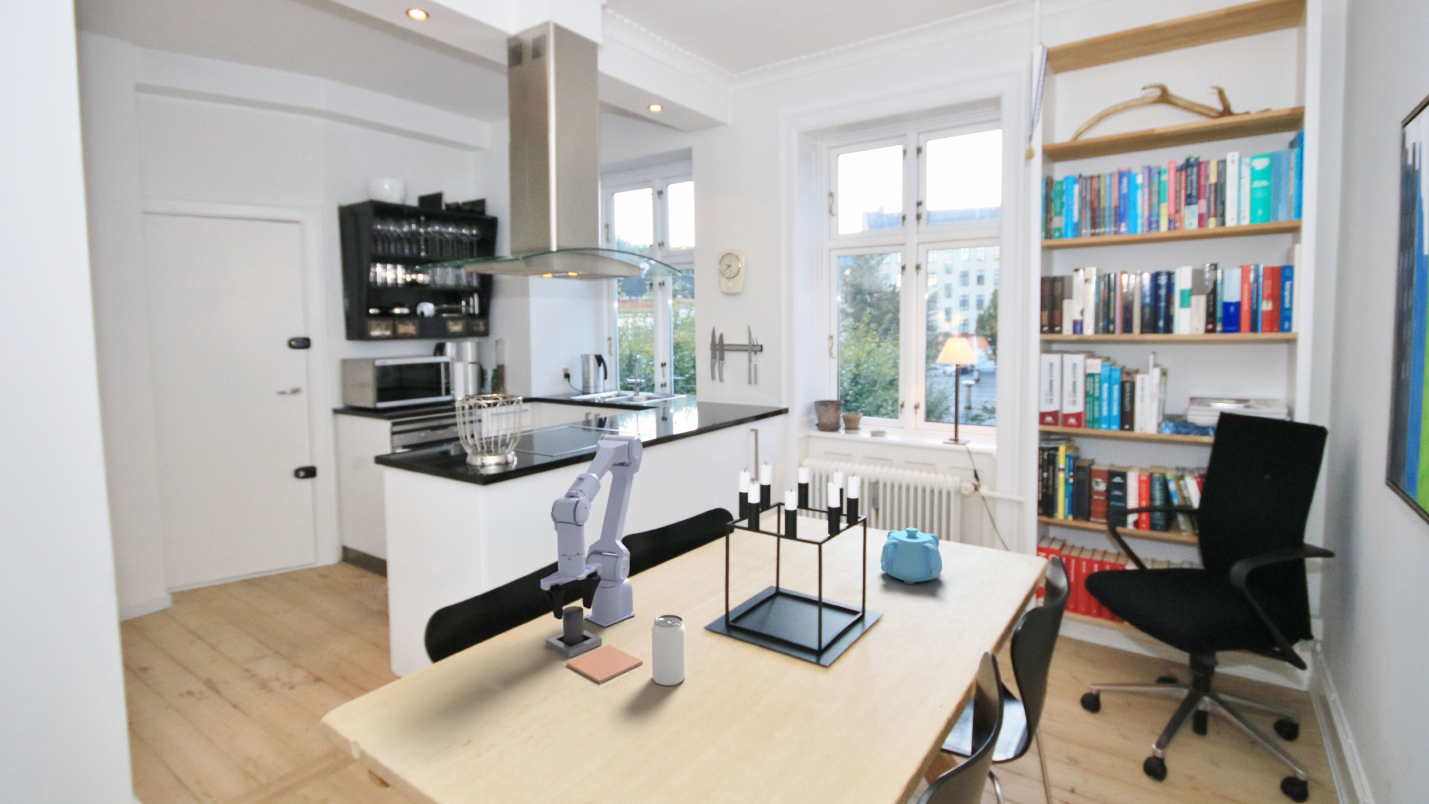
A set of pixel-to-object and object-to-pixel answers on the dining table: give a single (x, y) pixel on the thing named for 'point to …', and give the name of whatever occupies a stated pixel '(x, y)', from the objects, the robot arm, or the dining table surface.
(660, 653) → the can
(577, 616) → the plug
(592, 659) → the tile
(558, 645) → the socket collar
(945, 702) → the dining table surface
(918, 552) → the decorative pot
